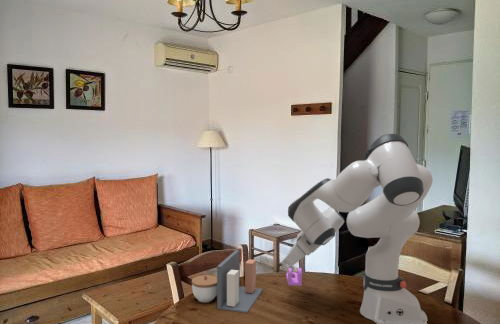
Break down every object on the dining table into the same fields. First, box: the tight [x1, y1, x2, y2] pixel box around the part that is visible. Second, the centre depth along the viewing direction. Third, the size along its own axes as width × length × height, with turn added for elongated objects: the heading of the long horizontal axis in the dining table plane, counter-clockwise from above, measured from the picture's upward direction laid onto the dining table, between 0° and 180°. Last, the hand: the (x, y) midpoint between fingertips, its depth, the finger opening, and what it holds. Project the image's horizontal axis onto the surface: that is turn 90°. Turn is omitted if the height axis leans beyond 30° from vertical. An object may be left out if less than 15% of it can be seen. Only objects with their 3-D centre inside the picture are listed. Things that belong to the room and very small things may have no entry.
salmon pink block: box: [244, 258, 257, 293], centre depth 162 cm, size 3×5×12 cm, turn 164°
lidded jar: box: [191, 274, 217, 303], centre depth 156 cm, size 11×11×9 cm
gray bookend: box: [216, 249, 263, 314], centre depth 156 cm, size 12×22×16 cm, turn 164°
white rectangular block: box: [227, 269, 240, 307], centre depth 149 cm, size 3×5×12 cm, turn 164°
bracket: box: [285, 267, 303, 286], centre depth 177 cm, size 13×6×7 cm, turn 1°
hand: (283, 263), depth 156 cm, fingers closed
